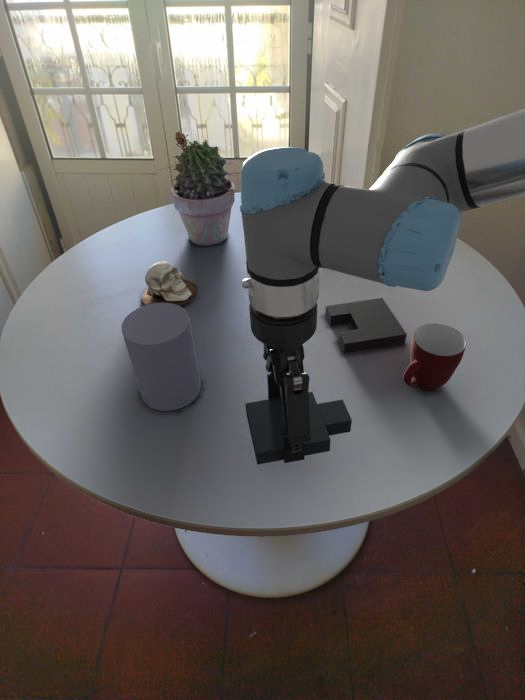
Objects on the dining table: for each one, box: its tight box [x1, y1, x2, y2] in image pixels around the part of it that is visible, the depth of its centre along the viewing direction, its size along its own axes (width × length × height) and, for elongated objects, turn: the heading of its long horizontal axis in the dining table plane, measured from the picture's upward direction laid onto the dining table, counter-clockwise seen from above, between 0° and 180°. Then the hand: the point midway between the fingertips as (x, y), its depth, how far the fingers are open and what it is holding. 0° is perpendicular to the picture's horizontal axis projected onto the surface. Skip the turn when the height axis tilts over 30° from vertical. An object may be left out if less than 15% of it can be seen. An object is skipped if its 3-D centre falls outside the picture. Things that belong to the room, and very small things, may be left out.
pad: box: [244, 391, 353, 466], centre depth 66 cm, size 9×14×2 cm, turn 101°
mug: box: [402, 323, 467, 392], centre depth 77 cm, size 10×8×10 cm
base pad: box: [324, 297, 407, 355], centre depth 91 cm, size 12×12×2 cm
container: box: [121, 303, 202, 412], centre depth 77 cm, size 10×10×15 cm
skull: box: [141, 261, 198, 307], centre depth 102 cm, size 12×10×10 cm
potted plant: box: [159, 130, 240, 247], centre depth 114 cm, size 18×20×25 cm
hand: (285, 430), depth 66 cm, fingers closed on pad, 9 cm apart
